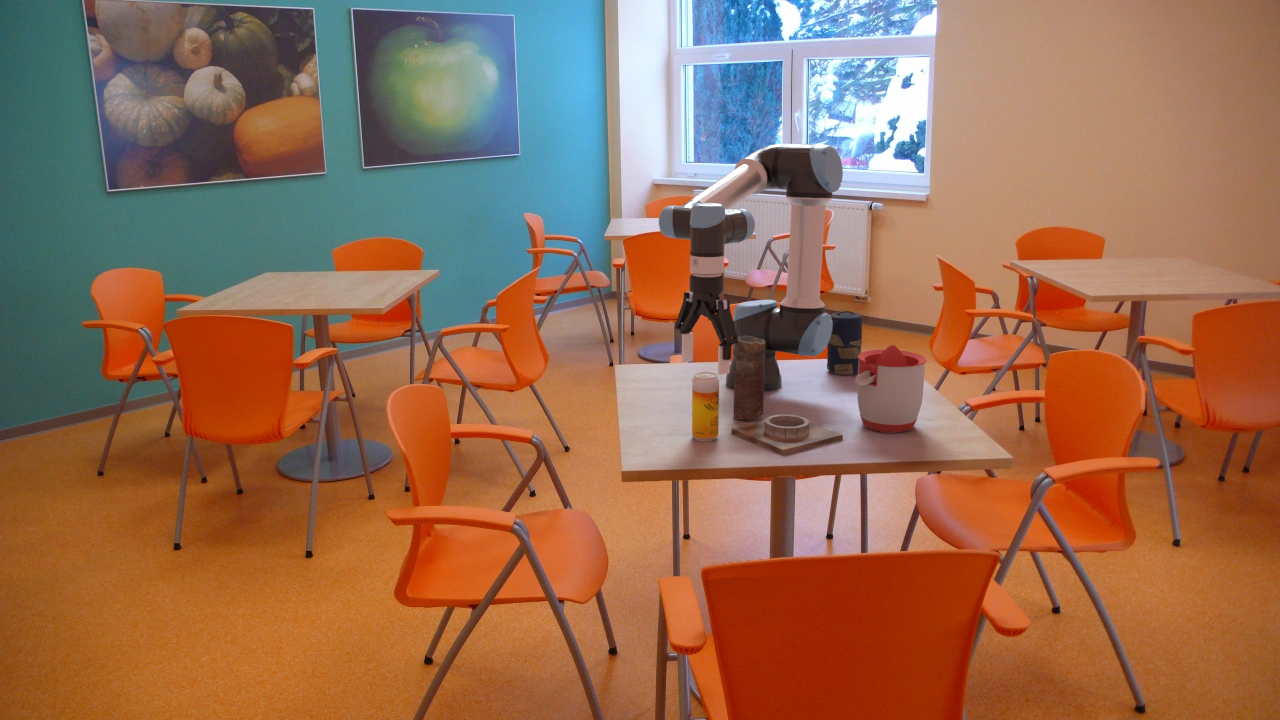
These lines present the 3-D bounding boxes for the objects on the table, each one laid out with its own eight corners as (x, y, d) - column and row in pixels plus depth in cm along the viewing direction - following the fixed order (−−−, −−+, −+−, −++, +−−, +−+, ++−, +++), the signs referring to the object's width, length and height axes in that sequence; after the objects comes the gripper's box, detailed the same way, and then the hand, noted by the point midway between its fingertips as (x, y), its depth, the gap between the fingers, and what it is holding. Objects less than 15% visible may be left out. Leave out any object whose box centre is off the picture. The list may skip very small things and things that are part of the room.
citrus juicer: (835, 423, 237) (838, 342, 232) (889, 412, 246) (894, 334, 241) (880, 442, 224) (885, 356, 219) (936, 429, 232) (942, 347, 227)
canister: (863, 376, 278) (866, 314, 273) (829, 377, 278) (832, 314, 273) (856, 368, 287) (859, 307, 282) (823, 368, 287) (826, 307, 283)
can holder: (731, 433, 231) (731, 418, 230) (789, 419, 241) (789, 405, 240) (783, 455, 216) (783, 439, 216) (842, 439, 226) (843, 424, 225)
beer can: (716, 442, 225) (717, 379, 221) (690, 441, 226) (690, 378, 222) (719, 434, 230) (720, 372, 227) (694, 432, 232) (694, 371, 228)
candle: (747, 411, 248) (748, 333, 243) (770, 417, 243) (772, 338, 238) (727, 417, 242) (728, 338, 237) (750, 424, 237) (752, 343, 232)
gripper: (660, 268, 227) (660, 358, 232) (728, 283, 206) (726, 381, 211) (686, 265, 231) (685, 354, 236) (756, 280, 210) (753, 376, 216)
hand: (705, 367), depth 224 cm, fingers open, 13 cm apart
